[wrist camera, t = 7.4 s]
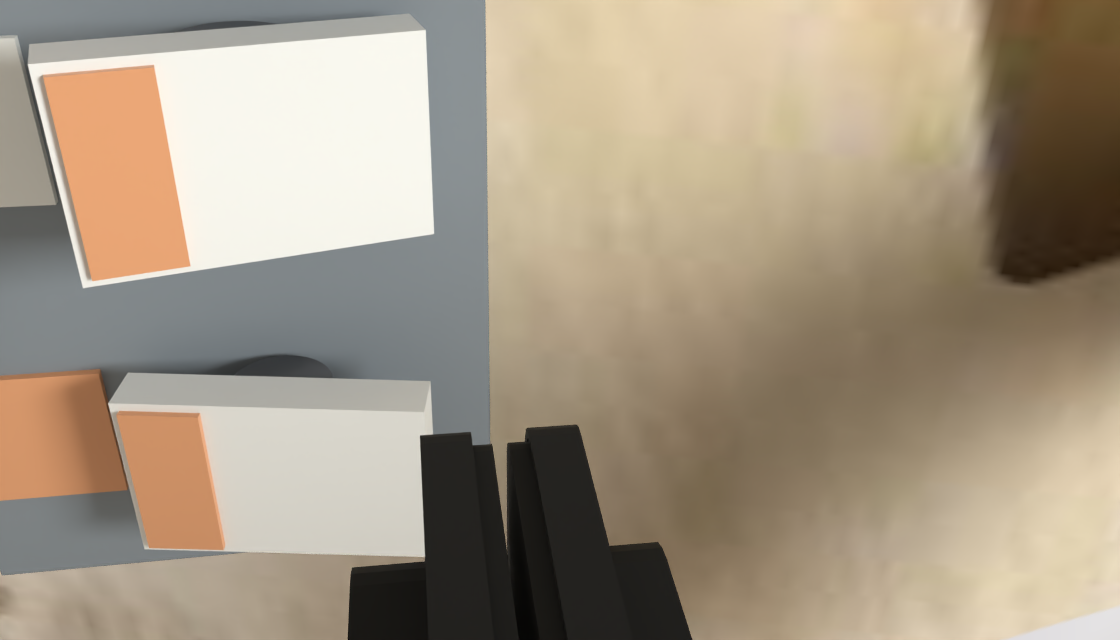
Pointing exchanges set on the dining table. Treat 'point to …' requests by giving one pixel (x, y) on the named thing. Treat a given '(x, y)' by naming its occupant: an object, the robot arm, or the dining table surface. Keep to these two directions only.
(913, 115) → the dining table surface
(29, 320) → the console
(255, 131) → the switch
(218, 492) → the switch
